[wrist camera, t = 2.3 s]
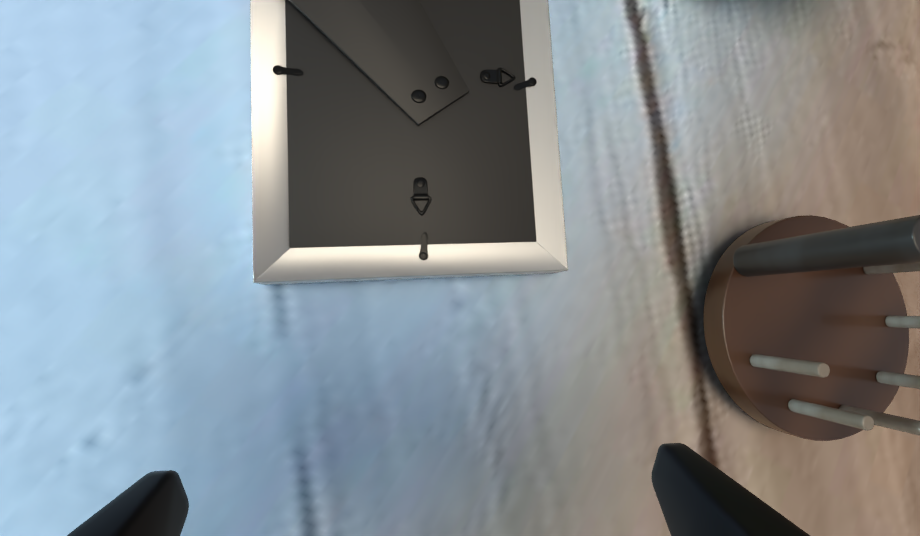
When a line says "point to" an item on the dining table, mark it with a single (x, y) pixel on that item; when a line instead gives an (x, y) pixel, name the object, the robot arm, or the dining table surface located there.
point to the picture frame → (403, 140)
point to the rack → (814, 324)
